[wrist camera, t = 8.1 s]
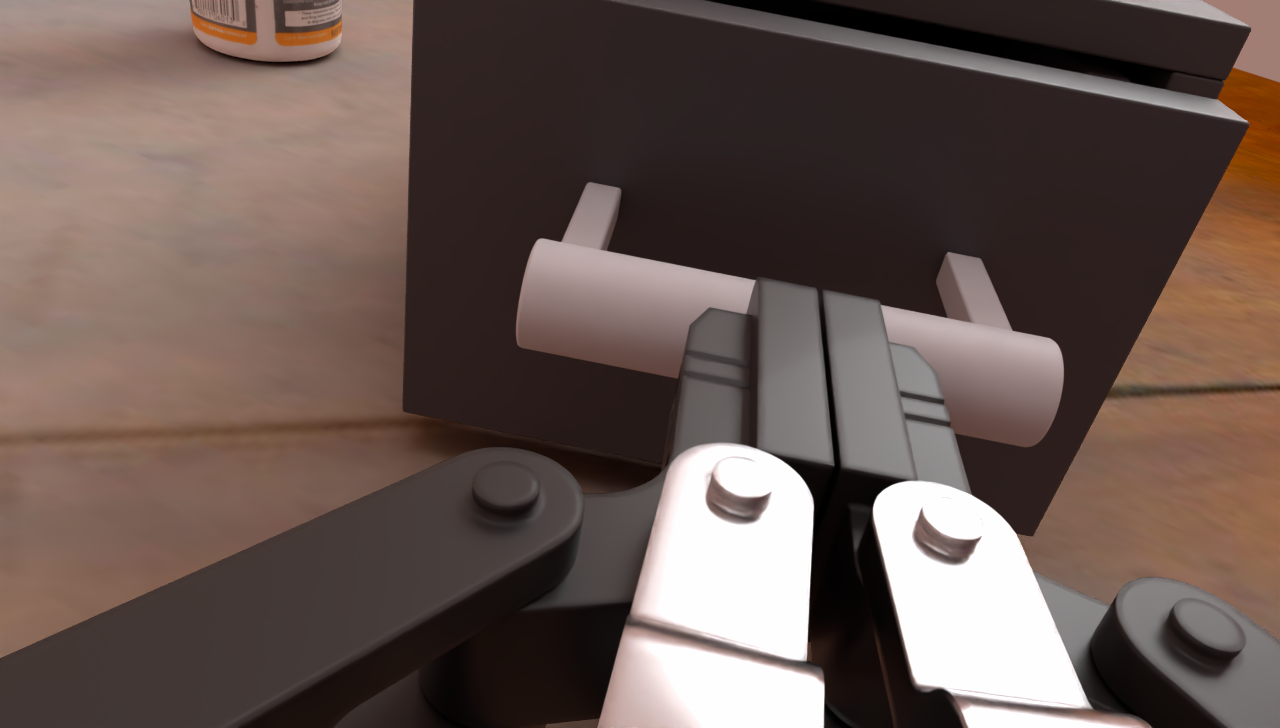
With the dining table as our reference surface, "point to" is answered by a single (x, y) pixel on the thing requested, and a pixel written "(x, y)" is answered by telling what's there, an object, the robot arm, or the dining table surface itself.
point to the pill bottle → (269, 28)
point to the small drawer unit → (1100, 33)
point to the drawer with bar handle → (784, 212)
